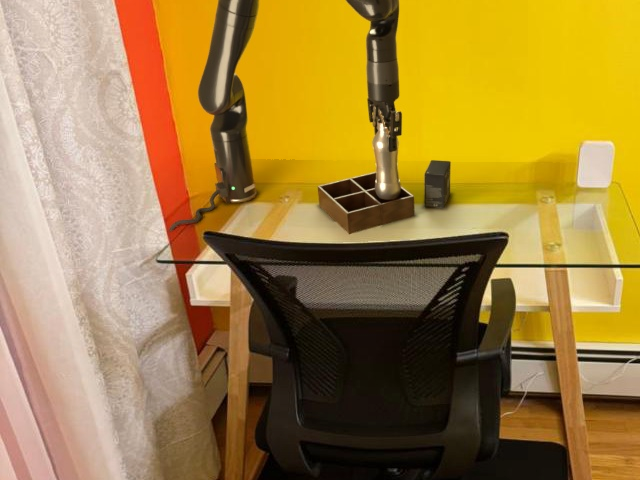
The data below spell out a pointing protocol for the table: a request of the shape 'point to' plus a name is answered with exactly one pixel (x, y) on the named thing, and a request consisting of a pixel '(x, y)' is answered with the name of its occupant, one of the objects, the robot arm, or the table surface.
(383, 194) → the silver metal bottle
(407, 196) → the compartment tray
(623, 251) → the table surface
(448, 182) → the box
